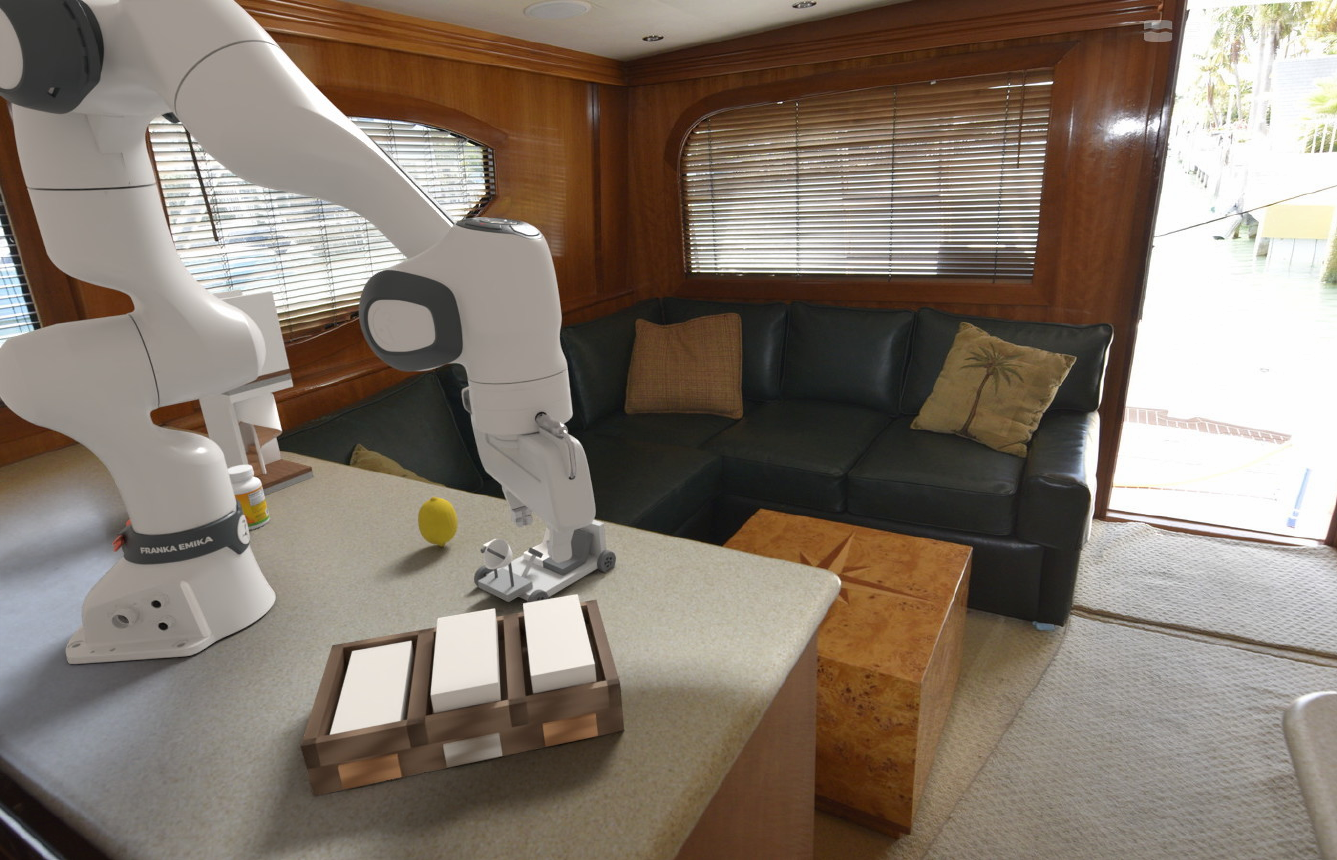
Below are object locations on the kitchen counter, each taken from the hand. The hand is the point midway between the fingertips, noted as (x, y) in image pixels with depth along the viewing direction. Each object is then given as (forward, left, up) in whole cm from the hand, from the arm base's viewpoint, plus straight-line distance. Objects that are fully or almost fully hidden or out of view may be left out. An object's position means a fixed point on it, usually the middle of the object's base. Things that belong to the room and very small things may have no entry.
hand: (540, 540), depth 72 cm
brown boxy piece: (-9, +1, -18) cm, 20 cm away
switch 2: (-9, +1, -13) cm, 15 cm away
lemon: (-14, +40, -18) cm, 46 cm away
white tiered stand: (-47, +78, -18) cm, 92 cm away
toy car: (0, +25, -19) cm, 31 cm away
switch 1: (-18, +1, -15) cm, 23 cm away
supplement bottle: (-45, +59, -18) cm, 76 cm away
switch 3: (0, +1, -13) cm, 13 cm away
